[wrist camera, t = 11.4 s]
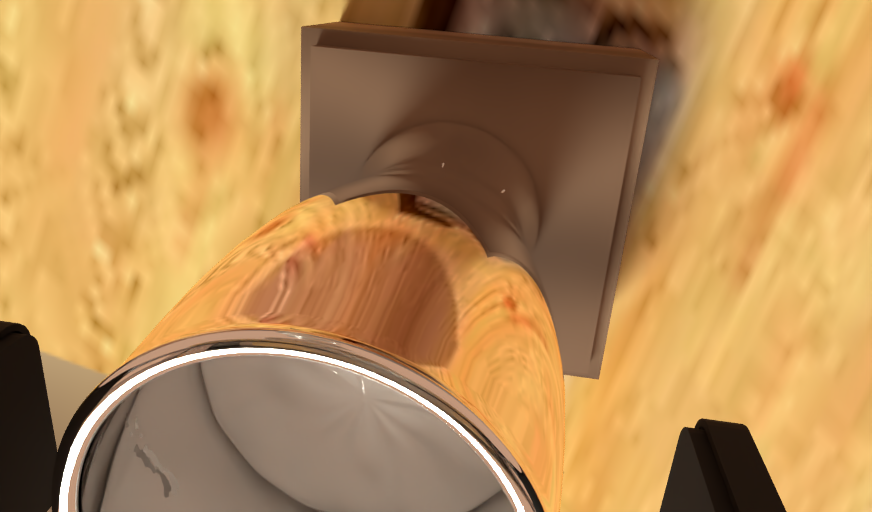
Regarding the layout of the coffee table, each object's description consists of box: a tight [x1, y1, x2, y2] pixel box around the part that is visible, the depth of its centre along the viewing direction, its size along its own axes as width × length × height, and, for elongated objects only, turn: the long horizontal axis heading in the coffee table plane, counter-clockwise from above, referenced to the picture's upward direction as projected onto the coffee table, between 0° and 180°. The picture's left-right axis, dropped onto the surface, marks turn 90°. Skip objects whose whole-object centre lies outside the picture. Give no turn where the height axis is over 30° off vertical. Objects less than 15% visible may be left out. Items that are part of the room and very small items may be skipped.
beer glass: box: [51, 122, 565, 512], centre depth 16 cm, size 7×7×15 cm
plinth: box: [300, 22, 659, 379], centre depth 25 cm, size 11×11×5 cm
